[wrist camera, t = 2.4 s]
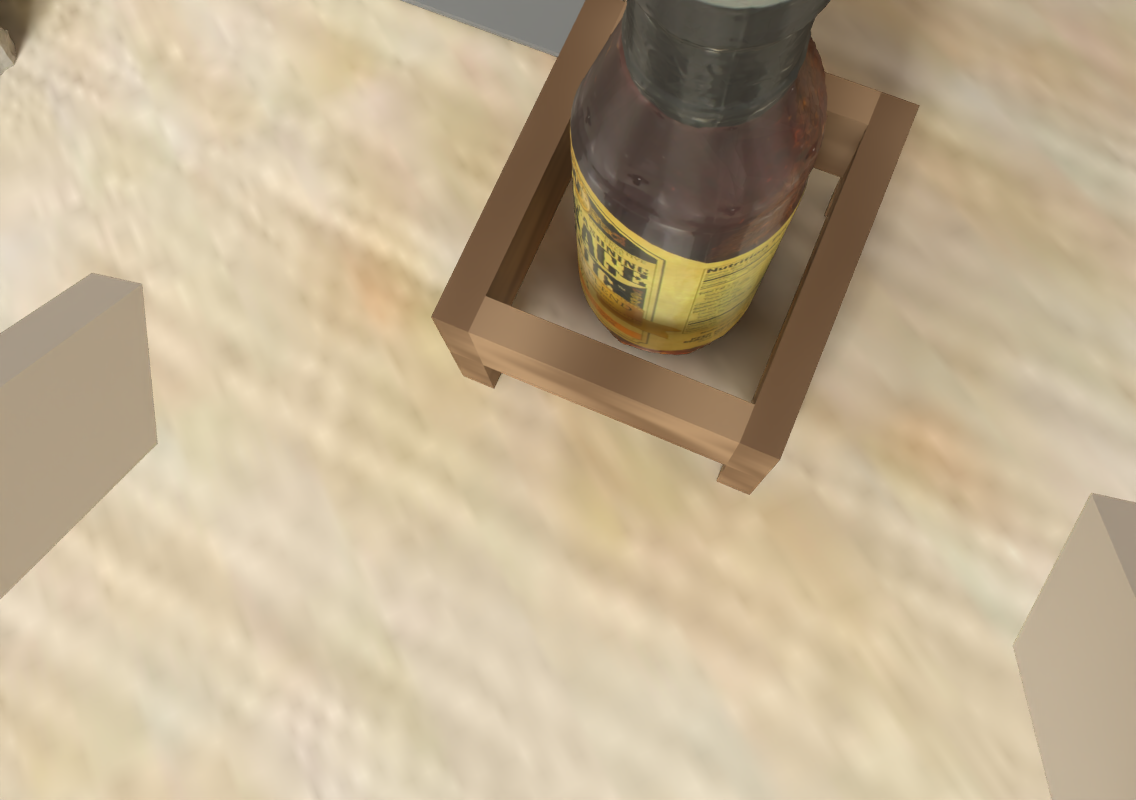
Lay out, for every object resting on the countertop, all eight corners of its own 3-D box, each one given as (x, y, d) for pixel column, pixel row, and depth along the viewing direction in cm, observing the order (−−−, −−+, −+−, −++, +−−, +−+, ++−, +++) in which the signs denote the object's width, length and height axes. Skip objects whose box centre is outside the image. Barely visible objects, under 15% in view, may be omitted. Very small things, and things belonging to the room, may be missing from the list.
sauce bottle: (563, 222, 37) (510, -241, 18) (729, 186, 37) (854, -316, 18) (603, 391, 35) (591, 82, 16) (776, 352, 36) (969, -2, 16)
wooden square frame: (867, 198, 37) (919, 105, 30) (749, 494, 34) (780, 459, 28) (594, 98, 38) (590, -11, 32) (463, 375, 36) (431, 316, 30)
